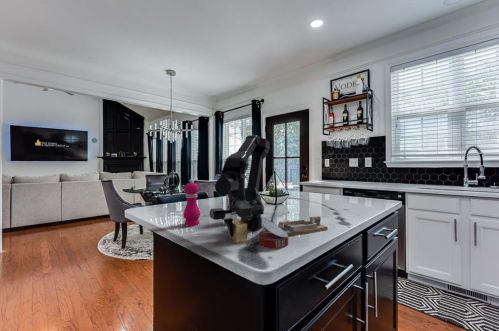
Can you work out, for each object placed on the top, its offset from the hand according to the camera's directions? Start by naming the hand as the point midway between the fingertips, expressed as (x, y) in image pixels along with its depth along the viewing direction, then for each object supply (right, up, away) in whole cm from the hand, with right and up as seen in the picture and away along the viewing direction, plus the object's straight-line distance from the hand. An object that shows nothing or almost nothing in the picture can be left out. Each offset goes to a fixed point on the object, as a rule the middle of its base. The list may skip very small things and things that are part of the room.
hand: (237, 235), depth 86 cm
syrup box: (-2, -1, +25) cm, 25 cm away
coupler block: (0, -1, 0) cm, 1 cm away
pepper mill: (-21, -1, +21) cm, 29 cm away
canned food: (+12, -1, -5) cm, 13 cm away
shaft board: (+24, -1, +10) cm, 26 cm away
